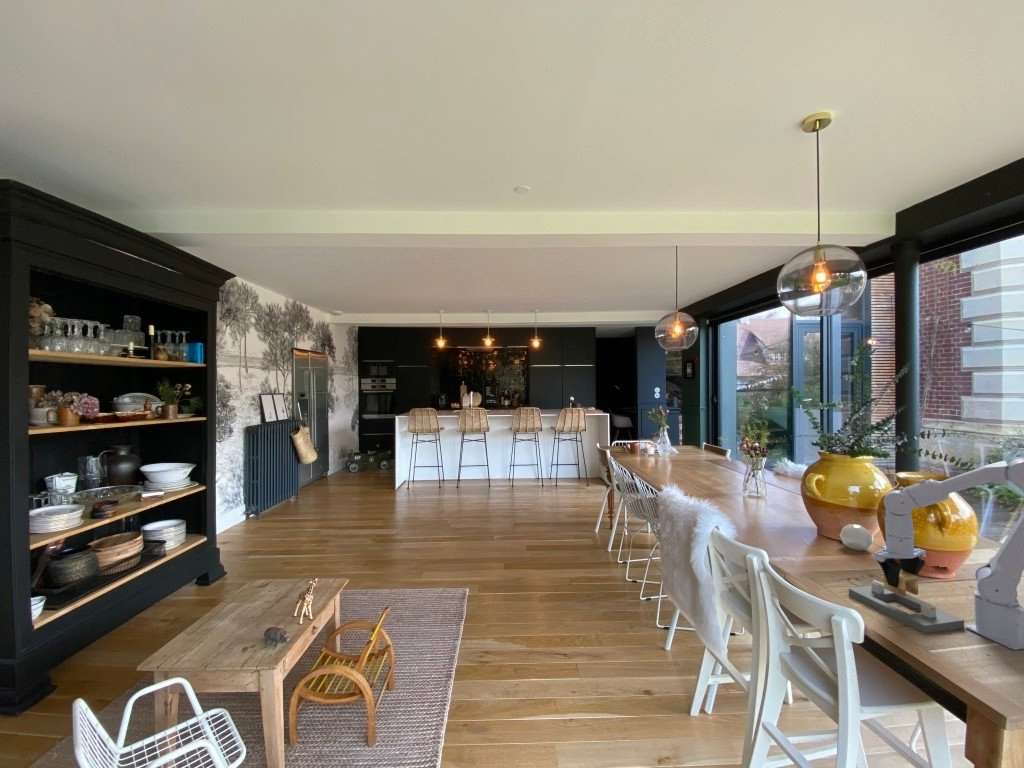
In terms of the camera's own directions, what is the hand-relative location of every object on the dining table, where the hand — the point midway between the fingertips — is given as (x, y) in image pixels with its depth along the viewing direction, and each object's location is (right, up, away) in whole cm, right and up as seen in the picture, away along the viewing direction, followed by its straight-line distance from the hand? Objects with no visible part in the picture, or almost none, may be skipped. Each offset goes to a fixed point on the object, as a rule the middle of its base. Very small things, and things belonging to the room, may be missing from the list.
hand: (901, 584), depth 116 cm
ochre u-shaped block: (0, -2, 0) cm, 2 cm away
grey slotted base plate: (0, -7, 0) cm, 7 cm away
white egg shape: (+23, -7, +45) cm, 51 cm away
